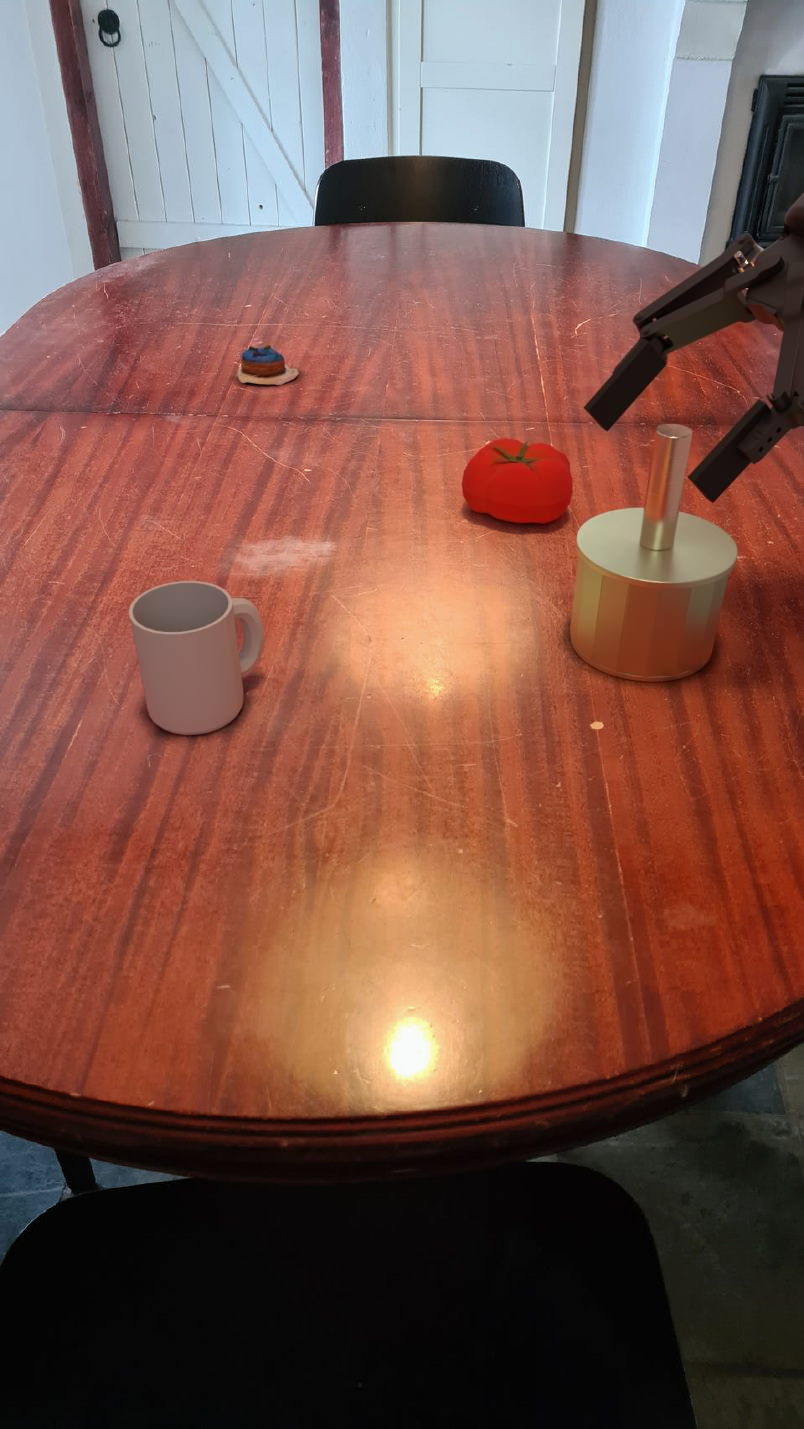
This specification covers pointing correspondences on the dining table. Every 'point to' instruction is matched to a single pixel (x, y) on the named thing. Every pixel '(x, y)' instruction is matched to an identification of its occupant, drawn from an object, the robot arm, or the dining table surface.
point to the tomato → (518, 481)
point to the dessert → (264, 367)
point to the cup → (194, 654)
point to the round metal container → (643, 626)
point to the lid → (659, 529)
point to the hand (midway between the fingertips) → (643, 453)
